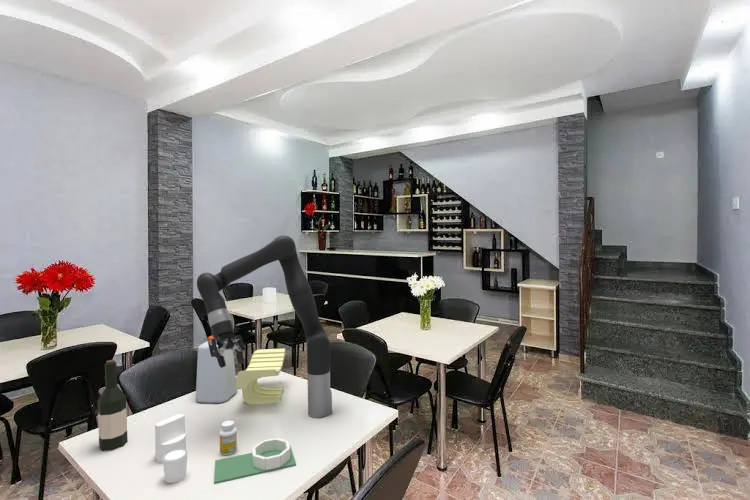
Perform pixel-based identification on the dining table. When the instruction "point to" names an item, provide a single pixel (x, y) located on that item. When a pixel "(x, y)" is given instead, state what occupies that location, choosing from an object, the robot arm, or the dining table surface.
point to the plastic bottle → (214, 376)
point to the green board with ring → (255, 461)
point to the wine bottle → (112, 412)
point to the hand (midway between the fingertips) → (232, 364)
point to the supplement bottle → (228, 438)
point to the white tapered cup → (175, 465)
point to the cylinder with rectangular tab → (170, 435)
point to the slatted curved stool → (261, 366)
